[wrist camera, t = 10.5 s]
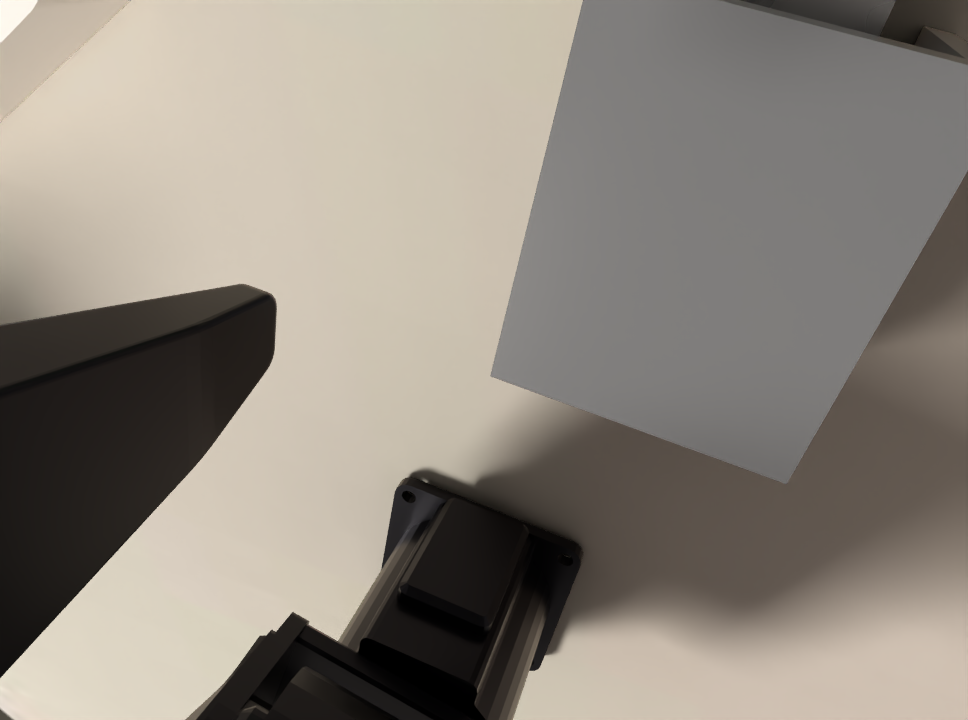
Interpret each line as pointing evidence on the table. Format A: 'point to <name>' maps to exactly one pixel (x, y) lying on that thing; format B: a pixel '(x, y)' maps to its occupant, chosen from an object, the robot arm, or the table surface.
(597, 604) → the table surface
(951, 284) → the table surface
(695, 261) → the chute
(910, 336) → the table surface
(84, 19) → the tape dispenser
